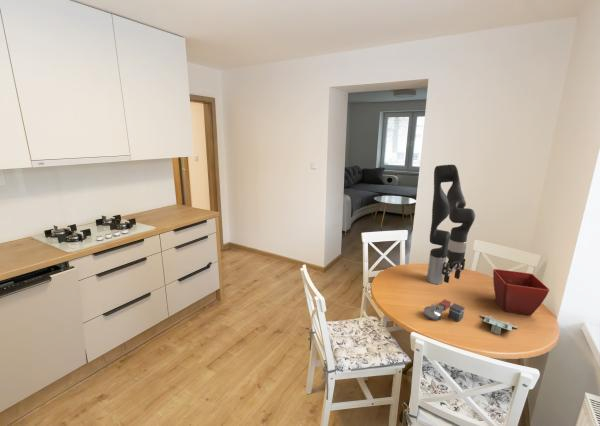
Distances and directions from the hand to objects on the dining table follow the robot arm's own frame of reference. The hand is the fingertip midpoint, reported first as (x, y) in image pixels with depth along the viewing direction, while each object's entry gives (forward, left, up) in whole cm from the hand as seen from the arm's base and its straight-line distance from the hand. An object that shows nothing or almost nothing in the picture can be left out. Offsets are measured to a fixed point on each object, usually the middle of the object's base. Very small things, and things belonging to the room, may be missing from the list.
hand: (451, 280), depth 145 cm
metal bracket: (-11, +20, -21) cm, 30 cm away
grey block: (-2, +4, -20) cm, 20 cm away
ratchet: (+1, -4, -20) cm, 20 cm away
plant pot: (-37, +19, -20) cm, 46 cm away
